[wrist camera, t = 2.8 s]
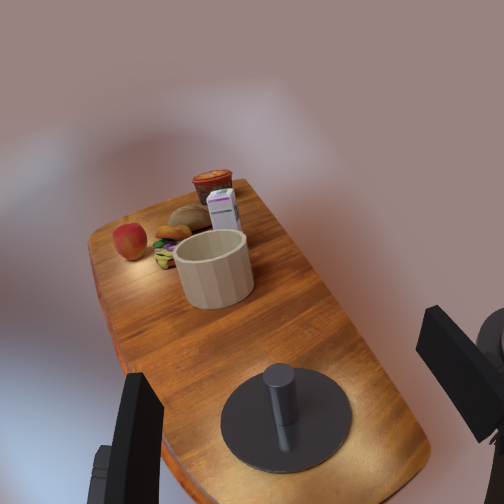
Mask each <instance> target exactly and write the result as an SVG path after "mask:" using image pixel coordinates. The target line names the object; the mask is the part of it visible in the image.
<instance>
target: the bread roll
mask: <svg viewBox="0 0 504 504" xmlns="http://www.w3.org/2000/svg"><path fill="white" fill-rule="evenodd" d="M167 225H170V226H172V227H176V226H177V225H185V226H187V227H189V228H190V230H191V231H194V230H197V229H201V228H205V227H208V226H210V225H212V222H211V218H210V213H209V209H208V208H206V207H204V206H201V205H197V204H192V205H186V206H183V207H181V208H179V209H177V210H176V211H175V212H173V213H172V215H171V216H170V218H169V220H168V224H167Z"/></svg>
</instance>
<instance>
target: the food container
mask: <svg viewBox="0 0 504 504" xmlns="http://www.w3.org/2000/svg"><path fill="white" fill-rule="evenodd" d="M231 175H232V172H231V171H229V170H227V169H224V170H216V171H210V172H207V173H203V174H200V175H198V176H195V177H194V178H193V180H192V182H193V183H194V185H195V187H196V190H197V193H198V196H199V199H200V201H201V204H203V205H207V201H206V199H207V197H208V196H209V195H210V193H211V192H213V191H216V190H221V189H228V188H232V179H231Z"/></svg>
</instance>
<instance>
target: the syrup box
mask: <svg viewBox="0 0 504 504" xmlns="http://www.w3.org/2000/svg"><path fill="white" fill-rule="evenodd" d="M206 201H207V205H208V209H209V213H210V218H211V222H212V226H213V230H217V229H233V230H237V231H241V232H242V227H241V222H240V217H239V212H238V207H237V203H236V198H235V193H234V189H233V188H228V189H221V190H216V191H213V192H211V193H210V195H209V196H208V197H207V199H206ZM242 233H243V232H242Z"/></svg>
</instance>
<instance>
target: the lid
mask: <svg viewBox="0 0 504 504" xmlns="http://www.w3.org/2000/svg"><path fill="white" fill-rule="evenodd" d="M350 421H351V408H350V404H349V401H348V398H347V396H346V394H345V393H344V391H343V390H342V389H341V387H340V386H339V385H338V384H337V383H336V382H335V381H333V380H332V379H331V378H329V377H327V376H325V375H324V374H321V373H319V372H316V371H313V370H309V369H304V368H292V367H291V366H290V365H288V364H284V363H277V364H273V365H271V366H269V367H268V368H267V369H266V370H265V371H264V372H263V373H260V374H258V375H256V376H254V377H252V378H250V379H248V380H247V381H245V382H244V383H243V384H241V385H240V386H239V387H238V388H237V389H236V390H235V391H234V392H233V393H232V394H231V395H230V397H229V398H228V400H227V401H226V403H225V405H224V408H223V411H222V415H221V432H222V436H223V439H224V441H225V443H226V445H227V446H228V448H229V449H230V451H231V452H232V453H233V454H234V455H235V456H236V457H237V458H238V459H239V460H241V461H242V462H243V463H245V464H247V465H249V466H251V467H253V468H255V469H258V470H261V471H265V472H270V473H292V472H298V471H302V470H305V469H308V468H311V467H313V466H315V465H318V464H319V463H321V462H323V461H324V460H326V459H327V458H328V457H330V456H331V455H332V454H333V453H334V452H335V451H336V450H337V449H338V448H339V447H340V445H341V444H342V442H343V441H344V439H345V437H346V435H347V433H348V430H349V427H350Z"/></svg>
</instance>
